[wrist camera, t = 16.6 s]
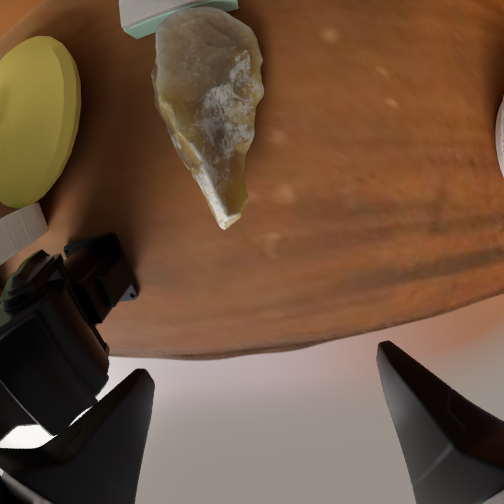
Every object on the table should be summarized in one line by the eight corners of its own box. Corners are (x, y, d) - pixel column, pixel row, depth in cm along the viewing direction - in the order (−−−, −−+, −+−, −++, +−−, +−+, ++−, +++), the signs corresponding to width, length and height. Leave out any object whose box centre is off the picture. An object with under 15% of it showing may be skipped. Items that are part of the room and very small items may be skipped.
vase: (-2, 201, 20) (-45, 223, 14) (-1, 68, 14) (-46, 68, 7) (98, 198, 20) (46, 226, 14) (108, 21, 14) (59, -5, 7)
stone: (216, -25, 8) (263, 247, 14) (255, 15, 14) (289, 213, 19) (114, 25, 11) (150, 251, 16) (169, 44, 16) (199, 220, 22)
